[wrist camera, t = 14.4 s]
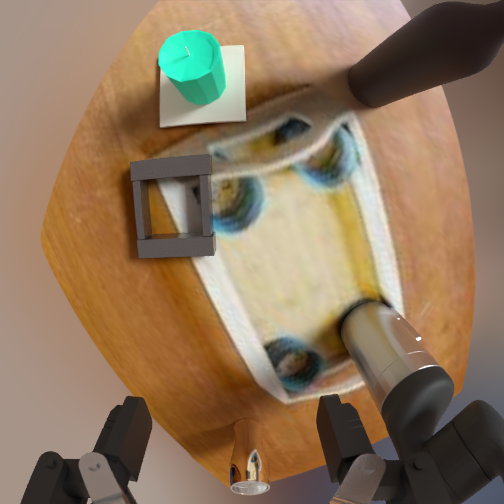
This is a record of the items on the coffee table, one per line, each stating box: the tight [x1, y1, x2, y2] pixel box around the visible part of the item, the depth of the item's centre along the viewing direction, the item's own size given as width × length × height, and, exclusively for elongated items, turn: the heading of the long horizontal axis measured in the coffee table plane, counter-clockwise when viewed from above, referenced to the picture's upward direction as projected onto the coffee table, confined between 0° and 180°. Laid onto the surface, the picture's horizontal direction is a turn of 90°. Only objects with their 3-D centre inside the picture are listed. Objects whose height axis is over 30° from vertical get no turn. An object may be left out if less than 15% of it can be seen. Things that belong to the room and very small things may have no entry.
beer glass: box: [230, 419, 270, 495], centre depth 41 cm, size 7×7×15 cm
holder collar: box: [130, 154, 216, 258], centre depth 35 cm, size 10×12×3 cm
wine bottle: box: [348, 0, 504, 107], centre depth 18 cm, size 7×7×30 cm
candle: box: [158, 30, 226, 105], centre depth 25 cm, size 6×6×12 cm
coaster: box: [160, 45, 246, 128], centre depth 31 cm, size 11×11×1 cm
